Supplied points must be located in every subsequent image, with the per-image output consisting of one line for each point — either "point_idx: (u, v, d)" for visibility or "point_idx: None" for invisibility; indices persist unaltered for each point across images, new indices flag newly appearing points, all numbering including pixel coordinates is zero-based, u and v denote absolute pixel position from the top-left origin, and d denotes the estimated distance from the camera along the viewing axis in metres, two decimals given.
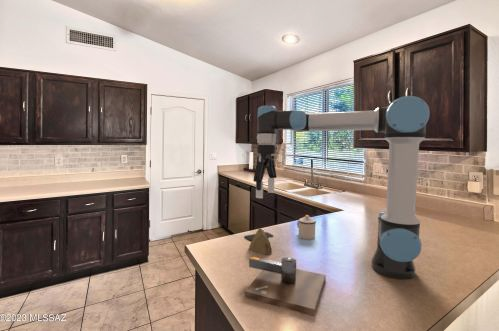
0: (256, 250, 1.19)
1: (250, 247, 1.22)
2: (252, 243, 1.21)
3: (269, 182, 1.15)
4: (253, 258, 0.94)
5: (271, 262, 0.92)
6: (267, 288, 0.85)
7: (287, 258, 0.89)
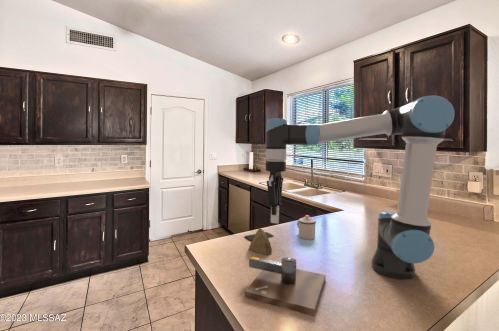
0: (256, 250, 1.19)
1: (250, 247, 1.22)
2: (252, 243, 1.21)
3: None
4: (253, 258, 0.94)
5: (271, 262, 0.92)
6: (267, 288, 0.85)
7: (287, 258, 0.89)
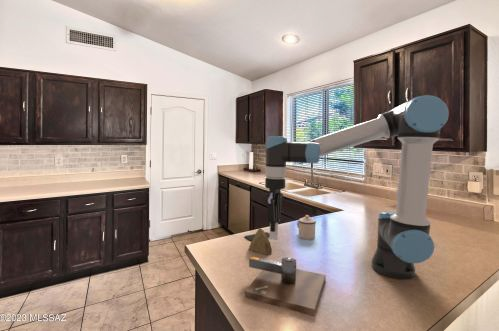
0: (256, 250, 1.19)
1: (250, 247, 1.22)
2: (252, 243, 1.21)
3: None
4: (253, 258, 0.94)
5: (271, 262, 0.92)
6: (267, 288, 0.85)
7: (287, 258, 0.89)
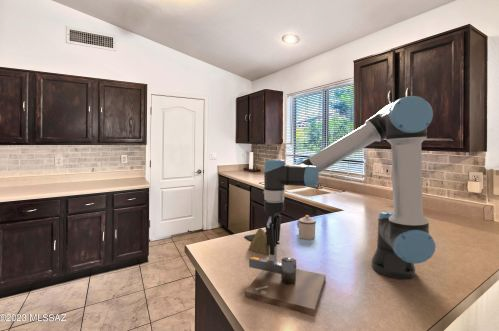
0: (256, 250, 1.19)
1: (250, 247, 1.22)
2: (252, 243, 1.21)
3: None
4: (253, 258, 0.94)
5: (271, 262, 0.92)
6: (267, 288, 0.85)
7: (287, 258, 0.89)
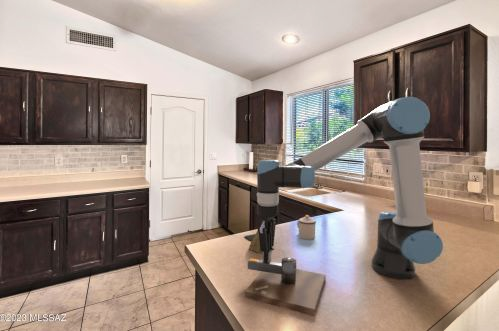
0: (256, 250, 1.19)
1: (250, 247, 1.22)
2: (252, 243, 1.21)
3: None
4: (252, 260, 0.93)
5: (270, 263, 0.91)
6: (267, 288, 0.85)
7: (287, 258, 0.89)
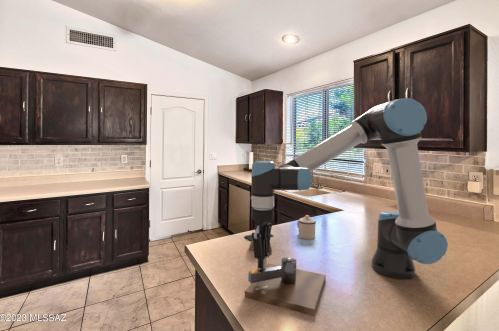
0: None
1: (250, 247, 1.22)
2: (252, 243, 1.21)
3: None
4: (254, 272, 0.84)
5: (272, 269, 0.87)
6: (267, 288, 0.85)
7: (287, 258, 0.89)
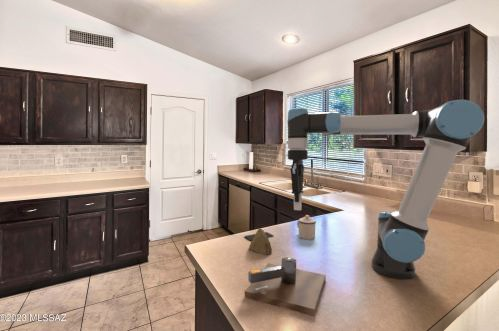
0: (256, 250, 1.19)
1: (250, 247, 1.22)
2: (252, 243, 1.21)
3: None
4: (254, 272, 0.84)
5: (272, 269, 0.87)
6: (267, 288, 0.85)
7: (287, 258, 0.89)
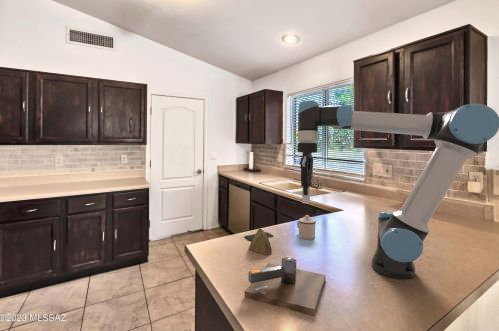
0: (256, 250, 1.19)
1: (250, 247, 1.22)
2: (252, 243, 1.21)
3: None
4: (254, 272, 0.84)
5: (272, 269, 0.87)
6: (267, 288, 0.85)
7: (287, 258, 0.89)
